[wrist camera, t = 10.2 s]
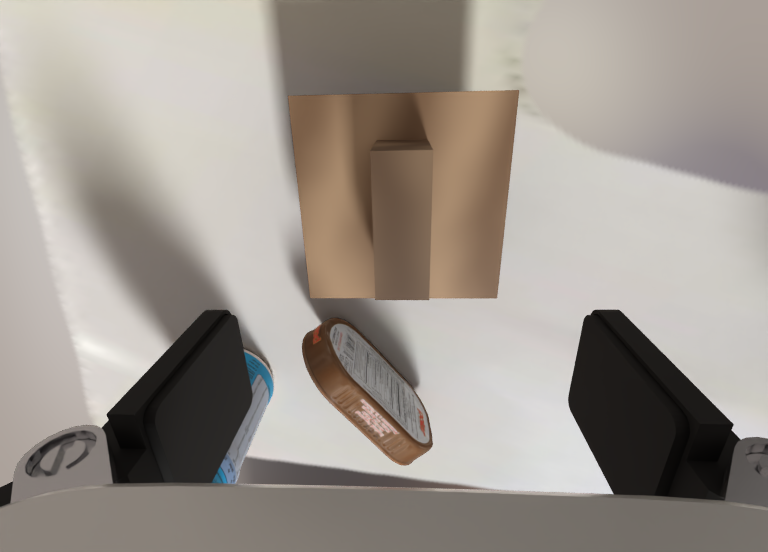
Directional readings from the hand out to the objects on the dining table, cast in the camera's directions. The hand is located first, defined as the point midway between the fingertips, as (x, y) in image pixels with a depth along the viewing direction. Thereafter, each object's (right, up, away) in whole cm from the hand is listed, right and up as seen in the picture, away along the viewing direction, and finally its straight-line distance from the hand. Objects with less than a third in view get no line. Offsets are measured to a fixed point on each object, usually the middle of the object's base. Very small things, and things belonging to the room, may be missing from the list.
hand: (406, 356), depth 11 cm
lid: (+1, +7, +15) cm, 17 cm away
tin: (-1, -6, +28) cm, 29 cm away
